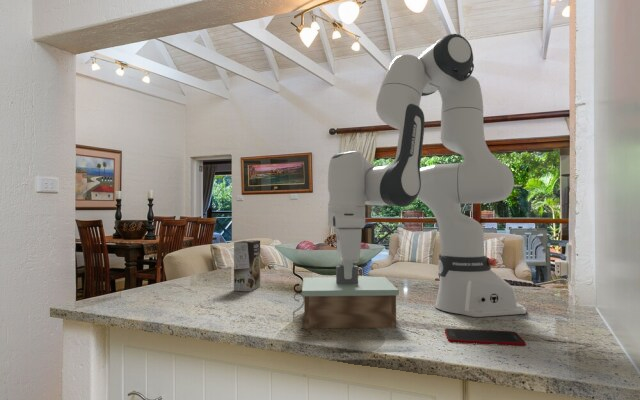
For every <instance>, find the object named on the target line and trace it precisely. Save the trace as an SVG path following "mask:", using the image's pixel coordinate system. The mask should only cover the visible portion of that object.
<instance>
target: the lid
mask: <svg viewBox="0 0 640 400" xmlns="http://www.w3.org/2000/svg"><path fill="white" fill-rule="evenodd" d="M301 286H302V288H301V296H302V297H304V296H388V295H396V296H399V294H400V293H399V292H400V291H399V289H398V288H397V286H395V285H394V284H393V283H392V282H391V281H390V279H389V280H388V279H387V277H385V276H359V266H358V265H356V264H355V265H354V264H353V268H352V278H351V279H345V278H344V266H342V265H336V266H335V276H334V277H330V276H329V277H328V276H327V277H325V276H323V277H320V276H319V277H316V276H313V277H303V279H302V285H301Z"/></svg>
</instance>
